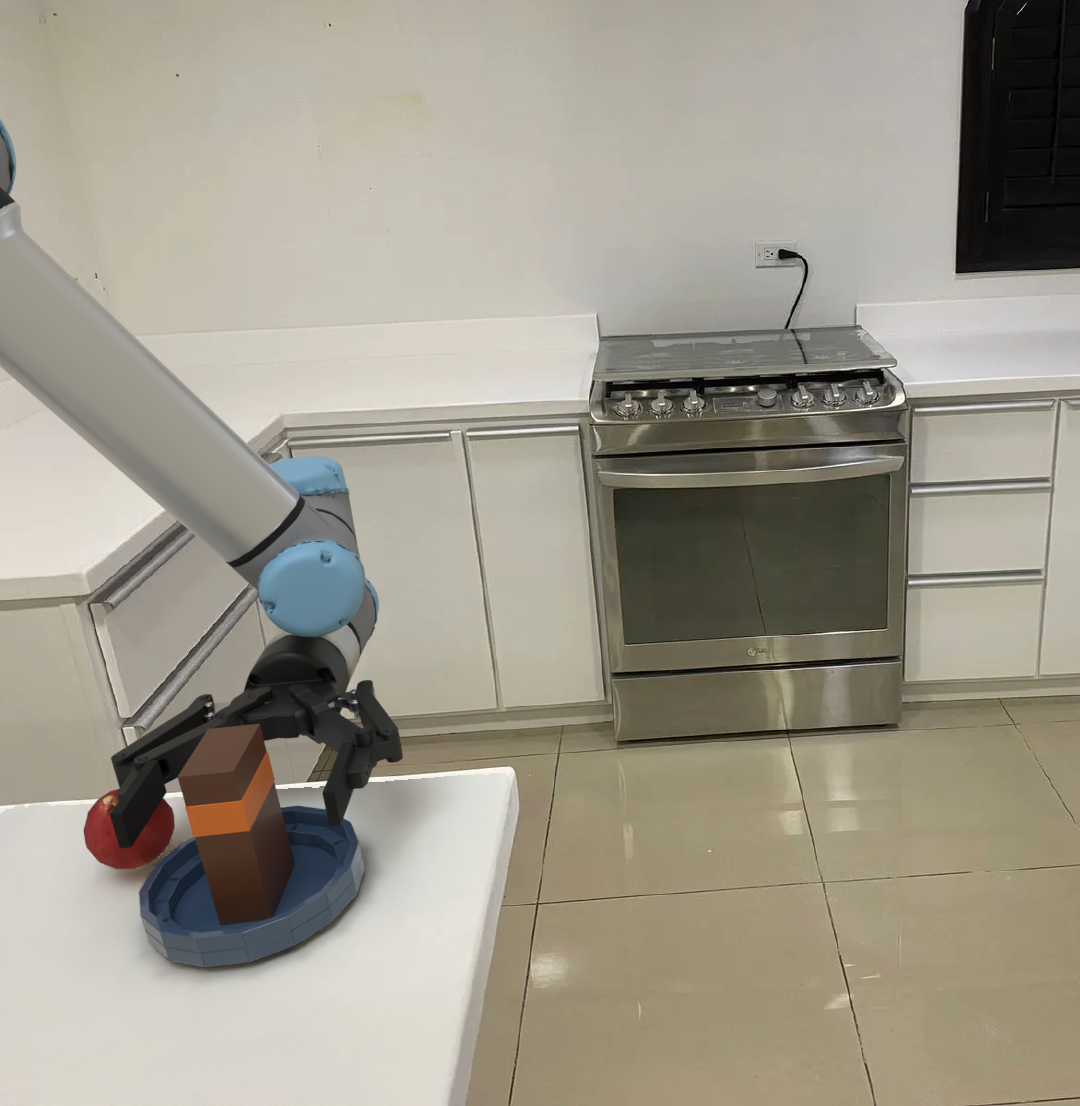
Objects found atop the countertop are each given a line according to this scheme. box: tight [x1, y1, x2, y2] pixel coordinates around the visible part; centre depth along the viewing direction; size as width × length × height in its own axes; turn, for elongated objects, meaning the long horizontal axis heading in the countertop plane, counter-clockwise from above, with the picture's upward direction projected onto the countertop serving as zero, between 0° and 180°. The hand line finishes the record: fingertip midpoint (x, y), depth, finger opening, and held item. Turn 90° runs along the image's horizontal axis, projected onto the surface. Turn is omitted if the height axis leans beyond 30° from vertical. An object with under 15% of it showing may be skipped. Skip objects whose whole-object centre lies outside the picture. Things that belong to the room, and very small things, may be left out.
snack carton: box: [177, 724, 295, 925], centre depth 74 cm, size 4×6×12 cm, turn 7°
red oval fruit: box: [83, 788, 176, 870], centre depth 79 cm, size 6×6×8 cm
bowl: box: [138, 805, 366, 968], centre depth 76 cm, size 14×14×3 cm
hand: (226, 820), depth 72 cm, fingers open, 13 cm apart
